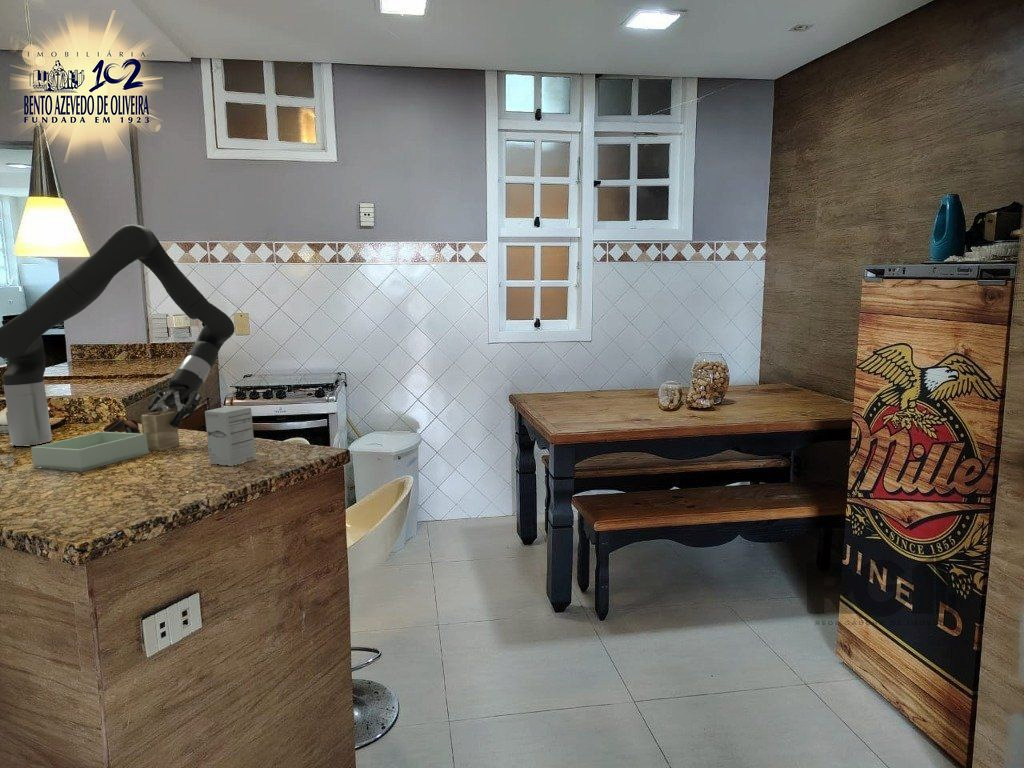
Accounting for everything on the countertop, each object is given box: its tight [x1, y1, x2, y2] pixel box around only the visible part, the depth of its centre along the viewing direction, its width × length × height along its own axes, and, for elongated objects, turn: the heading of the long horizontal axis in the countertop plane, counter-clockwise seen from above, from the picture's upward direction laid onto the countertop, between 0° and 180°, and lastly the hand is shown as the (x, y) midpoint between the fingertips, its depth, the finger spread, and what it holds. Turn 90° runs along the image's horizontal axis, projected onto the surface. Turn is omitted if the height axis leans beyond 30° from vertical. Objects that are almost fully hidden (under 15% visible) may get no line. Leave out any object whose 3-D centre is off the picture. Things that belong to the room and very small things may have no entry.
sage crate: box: [30, 431, 149, 472], centre depth 167 cm, size 16×18×5 cm
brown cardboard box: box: [140, 411, 180, 451], centre depth 178 cm, size 6×6×9 cm
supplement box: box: [204, 405, 256, 467], centre depth 158 cm, size 7×7×13 cm
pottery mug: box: [100, 417, 142, 434], centre depth 186 cm, size 12×10×8 cm
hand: (160, 425), depth 178 cm, fingers open, 8 cm apart
